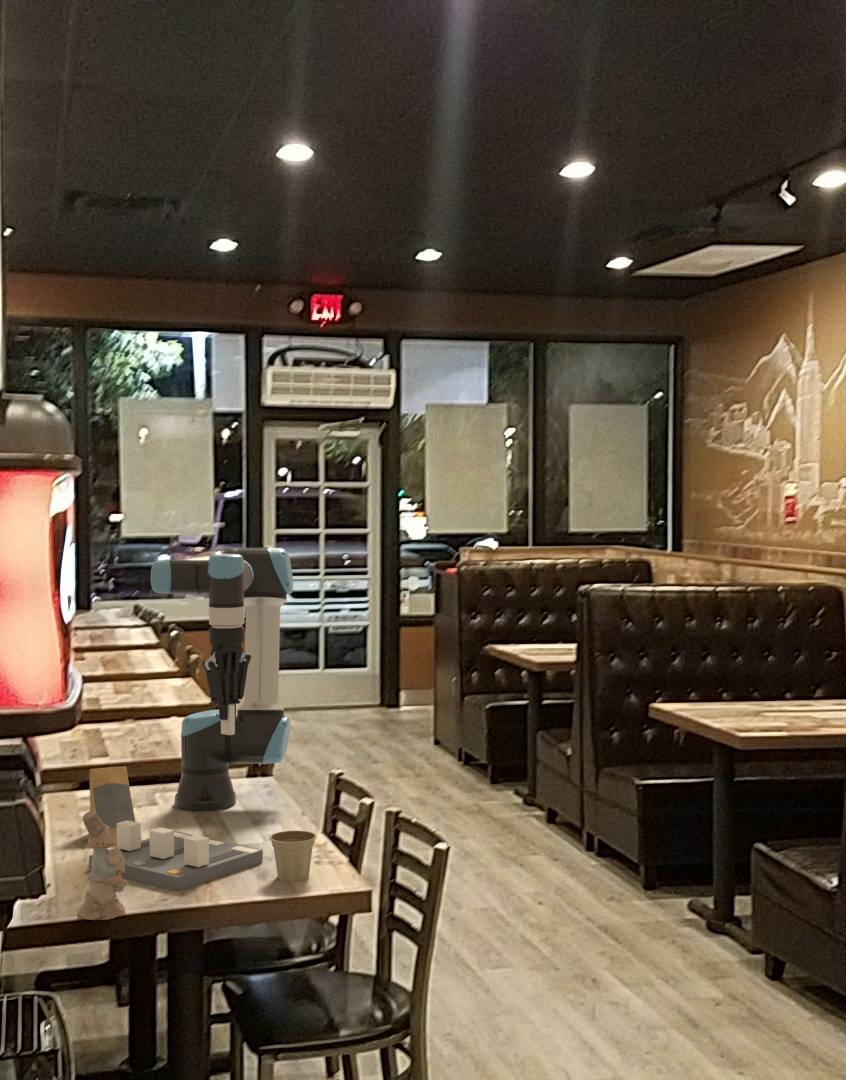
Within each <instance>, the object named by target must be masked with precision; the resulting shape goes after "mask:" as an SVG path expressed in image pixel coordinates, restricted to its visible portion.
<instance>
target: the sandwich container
mask: <svg viewBox="0 0 846 1080" xmlns="http://www.w3.org/2000/svg"><path fill="white" fill-rule="evenodd" d="M127 768H128V767H127V766H109V767H101V768H100V767H98V768H91V769H89V811H95V812H96V813H97V814H98V816H99V817H100V819H101V820H102V822H103V823H104V824H105V825H107V826H109V827H110V828H111V829H110V833H115V839H116V844H114V845H112V846H109V847H108V848H107V849H109V848H111V847H112V848H117V823H120V822H123V821H127V820H128V821H133V822H136V818H135V811H134V808H133V801H132V794H131V789H130V782H129V776H128V769H127ZM112 848H111V849H112Z"/></svg>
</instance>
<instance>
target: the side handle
mask: <svg viewBox="0 0 846 1080" xmlns="http://www.w3.org/2000/svg"><path fill="white" fill-rule="evenodd" d="M141 827H142V825H141V822H137V821H135V822H133V821H128V820H127V821H123V822H120V823H117V847H116V848H120V849H123V850H127V851H132V850H135V849H139V848H141V841H142V839H141V838H142V829H141Z"/></svg>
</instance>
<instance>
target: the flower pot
mask: <svg viewBox="0 0 846 1080" xmlns="http://www.w3.org/2000/svg"><path fill="white" fill-rule="evenodd" d="M317 837H318V835H317V834H316V833H315V832H312V831H309V830H297V829H296V830H294V829H293V830H285V831H283V830H282V831H278V832H274V833H272V834H271V835H270V836H269V840H270V841H271V846H272V847H273V853H274V859H275V866H276V874H277V879H278V880H279V881H284V882H299V881H304V880H307V879H308V878H310V872H311V871H310V870H311V863H312V856H313V855H312V854H313V847H314V845H315V842H316V841H315V840H317Z"/></svg>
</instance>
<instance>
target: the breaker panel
mask: <svg viewBox="0 0 846 1080" xmlns="http://www.w3.org/2000/svg"><path fill="white" fill-rule="evenodd" d="M193 835H194V834H192V833H186V832H182V831H177V830H174V856H171V857H168V858H165V859H161V858H157V857H153V856H150V837H149V838H146V839H143V840H142V839H141V848H139V849H135V850H132V851H127V850H123V849H120V850H121V852H122V856H123V858H124V860H125V861H124V865H125V872H123V873H121V877H122V878H123V879H125V880H131V881H134V882H138V883H143V884H146V885H151V886H154V887H155V886H156V887H158V888H163V889H168V890H171V891H175V892H180V891H184V890H185V889H189V888H192V887H195V886H198V885H200V884H204V883H206V881H207V882H209V881H212V880H215V879H218V878H221V877H223V876H226V875H230V874H232V873H235V871H236V872H239V871H242V870H244V868H245V869H247V868H250V867H253V866H256V865H260V864H262V863H263V862H264V861H263V859H264V858H263V855H264V854H263V853H264V852H263V851H264V850H263V849H261V848H256V847H251V846H247V845H243V844H238V843H234V842H233V843H232V842H228V841H224V840H220V839H215V838H211V837H208V838H209V864H207V865H204V866H201V867H195V866H191V865H187V864H184V838H186V837H189V836H193ZM116 849H118V848H117V847H113V848H111V849H108V851H113V850H116ZM92 858H93V854H90V855H88V870H89V869H91V871H92V866H91V863H92ZM241 869H242V870H241ZM229 873H230V874H229Z"/></svg>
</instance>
